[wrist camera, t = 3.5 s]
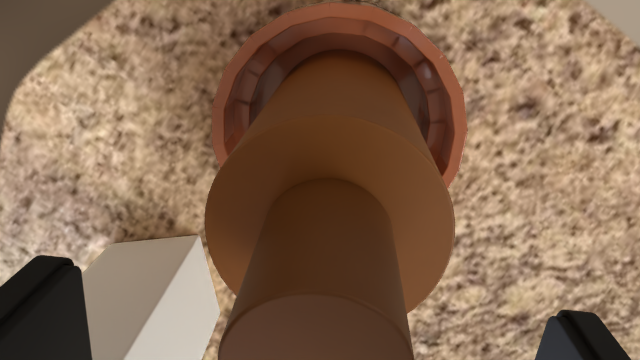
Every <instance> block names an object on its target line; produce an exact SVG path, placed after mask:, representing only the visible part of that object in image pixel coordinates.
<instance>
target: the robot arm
mask: <svg viewBox="0 0 640 360" xmlns="http://www.w3.org/2000/svg"><path fill="white" fill-rule="evenodd" d="M0 360H92V353H91V345H90V337H89V329H88V321H87V313H86V305H85V297H84V289H83V281H82V273H81V270H80V268H79V267H77V266H74V263H73V262H72V260H71V259H69V258H64V257H54V256H45V255H40V256H37V257H35V258H33V259H32V260H31V261H30V262H29V263H28V264H26V265H25V266H24V267H23V268H22V269H21V270H19V271H18V272H17V273H16V274H15V275H14V276H12V277H11V278H10V279H9V280H8V281H7V282H5V283H4V284H3V285H2V286H1V287H0ZM535 360H631V359H630V357H629V356H628V355H627V354H626V352H625V351H624V350H623V348H622V347H621V346H620V344H619V343H618V342H617V340H616V339H615V338H614V337H613V335H612V334H611V333H610V331H609V330H608V329H607V327H606V326H605V325H604V324H603V322H602V321H601V320H600V318H599V317H598V316H597V315H596V314H594V313H591V312H582V311H572V310H561V311H560V312H559V313H558V314H557V316H552V317H550V318H549V320H548V322H547V324H546V327H545V330H544V333H543V336H542V339H541V342H540V345H539V348H538V351H537V354H536V357H535Z"/></svg>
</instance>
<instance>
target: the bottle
mask: <svg viewBox="0 0 640 360" xmlns="http://www.w3.org/2000/svg"><path fill="white" fill-rule="evenodd" d="M205 234H206V240H207V245H208V249H209V253H210V255H211V258H212V260H213V263H214V265H215V267H216V269H217V271H218V273H219V275H220V276H221V278H222V279H223V281H224V282H225V284H226V285H227V286H228V288H229V289H230V290H231V291H232V292H233V293H234V294H235V295H236V297H237V298H236V301H235V303H234V306H233V309H232V311H231V314H230V317H229V320H228V322H227V325H226V328H225V331H224V333H223V336H222V339H221V342H220V346H219V351H218V360H414V355H413V349H412V343H411V337H410V331H409V325H408V319H407V314H408V313H409V312H410V311H412V310H413V309H415V308H416V307H417V306H418V305H419V304H420V303H421V302H423V301H424V300H425V299H426V298H427V296H428V295H429V294H430V293H431V292H432V291H433V289H434V288H435V287H436V285H437V284H438V282H439V281H440V279H441V278H442V276H443V274H444V272H445V269H446V267H447V265H448V263H449V260H450V257H451V253H452V250H453V245H454V238H455V217H454V210H453V204H452V201H451V198H450V195H449V192H448V189H447V187H446V185H445V183H444V181H443V178H442V176H441V174H440V172H439V170H438V168H437V166H436V164H435V161H434V159H433V157H432V155H431V153H430V151H429V149H428V147H427V144H426V142H425V140H424V138H423V136H422V134H421V132H420V129H419V127H418V125H417V123H416V121H415V119H414V117H413V115H412V112H411V110H410V108H409V106H408V104H407V102H406V100H405V98H404V95H403V93H402V91H401V89H400V87H399V85H398V83H397V81H396V80H395V78H394V77H393V75H392V74H391V73H390V72H389V71H388V70H387V68H386V67H384V66H383V65H382V64H381V63H380V62H378V61H377V60H375V59H373V58H372V57H370V56H368V55H365V54H363V53H360V52H357V51H352V50H344V49H335V50H327V51H323V52H319V53H316V54H314V55H311V56H309V57H308V58H306V59H304V60H302V61H301V62H300V63H298V64H297V65H296V66H295V67H294V68H293V69H292V70H291V71H290V72H289V73H288V74H287V76H286V77H285V78H284V80H283V81H282V83H281V84H280V85H279V87H278V88H277V90H276V91H275V92H274V94H273V95H272V96H271V98H270V99H269V101H268V102H267V103H266V105H265V106H264V108H263V109H262V110H261V112H260V113H259V115H258V116H257V117H256V119H255V120H254V122H253V123H252V124H251V126H250V127H249V129H248V130H247V131H246V133H245V134H244V136H243V137H242V138H241V140H240V141H239V143H238V144H237V145H236V147H235V148H234V150H233V151H232V152H231V154H230V155H229V157H228V158H227V159H226V161H225V162H224V164H223V165H222V166H221V168H220V170H219V172H218V173H217V175H216V177H215V179H214V181H213V183H212V186H211V189H210V191H209V194H208V199H207V203H206V208H205Z"/></svg>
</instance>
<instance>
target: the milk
mask: <svg viewBox="0 0 640 360" xmlns="http://www.w3.org/2000/svg"><path fill="white" fill-rule="evenodd" d="M82 281H83V289H84V297H85V305H86V313H87V321H88V329H89V337H90V345H91V353H92V360H202V357H203V355H204V352H205V350H206V347H207V345H208V342H209V340H210V337H211V335H212V332H213V330H214V327H215V325H216V322H217V320H218V317H219V315H220V308H219V305H218V301H217V297H216V294H215V290H214V286H213V283H212V279H211V275H210V271H209V268H208V264H207V260H206V257H205V253H204V249H203V246H202V242H201V238H200V236H199V235H193V236H183V237H173V238H162V239H152V240H142V241H132V242H122V243H113V244H110V245H109V246H108V247H107V248H106V249H105V250H104V251H103V252H102V253H101V254H100V255H99V256H98V257H97V258H96V260H95V261H94V262H93V263H92V264H91V265H90V266H89V267H88V268H87V269H86V270H85V271H84V272H83V273H82Z"/></svg>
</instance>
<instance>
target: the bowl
mask: <svg viewBox="0 0 640 360" xmlns="http://www.w3.org/2000/svg"><path fill="white" fill-rule="evenodd" d="M335 49H344V50H352V51H357V52H360V53H363V54H365V55H368V56H370V57H372V58H373V59H375V60H377V61H378V62H380V63H381V64H382V65H383V66H384V67H386V68H387V70H388V71H389V72H390V73H391V74H392V75H393V77H394V78H395V80H396V81H397V83H398V85H399V87H400V89H401V91H402V93H403V95H404V98H405V100H406V102H407V104H408V106H409V108H410V110H411V112H412V115H413V117H414V119H415V121H416V123H417V125H418V127H419V129H420V132H421V134H422V136H423V138H424V140H425V142H426V144H427V147H428V149H429V151H430V153H431V155H432V157H433V159H434V161H435V164H436V166H437V168H438V170H439V172H440V174H441V176H442V178H443V181H444V183H445V185H446V187H447V189H449V187H450V185H451V184H452V182H453V180H454V179H455V177H456V175H457V173H458V172H459V169H460V166H461V161H462V157H463V152H464V147H465V143H466V138H467V131H468V128H467V120H466V111H465V103H464V95H463V90H462V88H461V86H460V84H459V82H458V80H457V78H456V76H455V74H454V72H453V70H452V68H451V66H450V64H449V62H448V60H447V58H446V56H445V55H444V53H443V52H442V51H441V50H440V49H439V48H438V47H436V46H435V45H434V44H433V43H432V42H431V41H430V40H429V39H428V38H427V37H426V36H425V35H424V34H423V33H422V32H421V31H420V30H419V29H418V28H417V27H416V26H415V25H413V24H412V23H410V22H409V21H407V20H406V19H404V18H402V17H400V16H398V15H396V14H394V13H391V12H389V11H387V10H385V9H383V8H381V7H378V6H376V5H374V4H372V3H368V2H358V1H347V0H327V1H323V2H319V3H315V4H311V5H306V6H302V7H298V8H296V9H293V10H291V11H288V12H286V13H284V14H282V15H281V16H279V17H278V18H276V19H275V20H273V21H272V22H270V23H269V24H267V25H266V26H264V27H262V28H261V29H259V30H258V31H256V32H255V33H253V34H252V35H251V36H250V37H249V38H248V39H247V40H246V41H245V43H244V44H243V45H242V47H241V48H240V49H239V50H238V52H237V53H236V54H235V56H234V57H233V58H232V59H231V61H230V62H229V63H228V65H227V66H226V67H225V70H224V72H223V75H222V78H221V81H220V84H219V87H218V90H217V93H216V96H215V99H214V101H213V104H212V105H213V106H212V144H213V149H214V152H215V155H216V158H217V161H218V164H219V167H220V168H221V166H222V165H223V164H224V162H225V161H226V159H227V158H228V157H229V155H230V154H231V152H232V151H233V150H234V148H235V147H236V145H237V144H238V143H239V141H240V140H241V138H242V137H243V136H244V134H245V133H246V131H247V130H248V129H249V127H250V126H251V124H252V123H253V122H254V120H255V119H256V117H257V116H258V115H259V113H260V112H261V110H262V109H263V108H264V106H265V105H266V103H267V102H268V101H269V99H270V98H271V96H272V95H273V94H274V92H275V91H276V90H277V88H278V87H279V85H280V84H281V83H282V81H283V80H284V78H285V77H286V76H287V74H288V73H289V72H290V71H291V70H292V69H293V68H294V67H295V66H296V65H297V64H298V63H300V62H301V61H302V60H304V59H306V58H308V57H309V56H311V55H314V54H316V53H319V52H323V51H327V50H335Z"/></svg>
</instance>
